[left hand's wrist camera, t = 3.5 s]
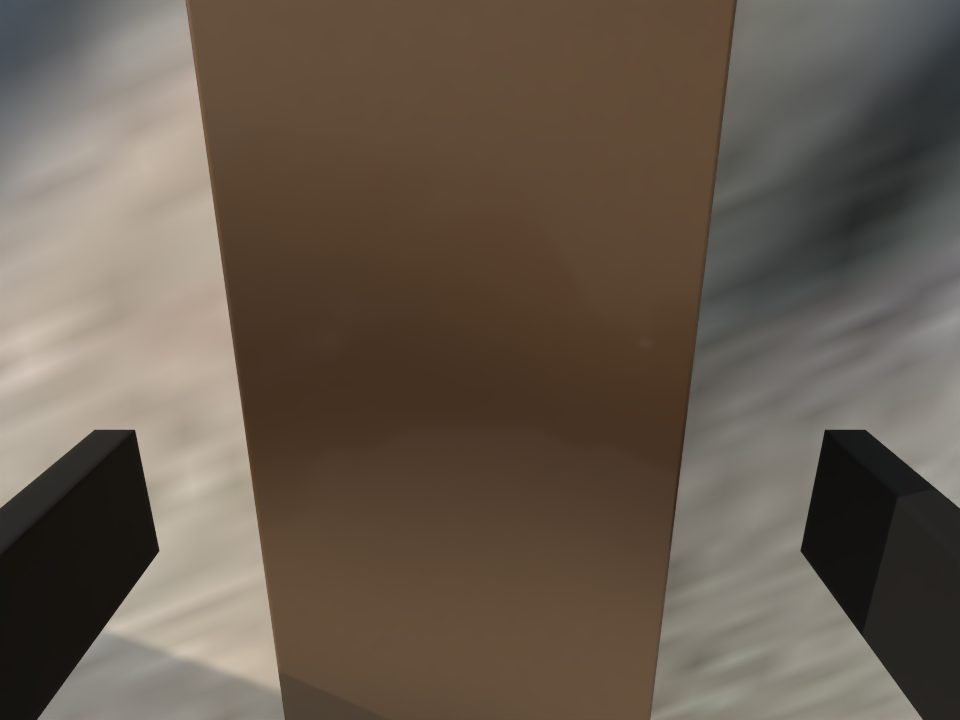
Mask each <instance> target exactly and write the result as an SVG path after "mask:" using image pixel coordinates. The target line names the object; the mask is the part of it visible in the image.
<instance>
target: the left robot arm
mask: <svg viewBox="0 0 960 720" xmlns="http://www.w3.org/2000/svg"><path fill="white" fill-rule="evenodd" d="M158 552H159V547H158V542H157V537H156V532H155V527H154V522H153V517H152V512H151V507H150V502H149V497H148V492H147V487H146V482H145V477H144V472H143V467H142V462H141V457H140V452H139V447H138V442H137V437H136V432H135V430H94V431H93V432H92V433H90V434H89V435H88V436H87V437H86V438H84V439H83V440H82V441H81V442H80V443H78V444H77V445H76V446H75V447H74V448H72V449H71V450H70V451H69V452H67V453H66V454H65V455H64V456H63V457H61V458H60V459H59V460H58V461H57V462H55V463H54V464H53V465H52V466H51V467H49V468H48V469H47V470H46V471H45V472H43V473H42V474H41V475H40V476H39V477H37V478H36V479H35V480H34V481H33V482H31V483H30V484H29V485H28V486H27V487H25V488H24V489H23V490H22V491H21V492H19V493H18V494H17V495H16V496H15V497H13V498H12V499H11V500H10V501H9V502H7V503H6V504H5V505H4V506H3V507H1V508H0V720H37V719H38V718H39V716H40V715H41V713H42V712H43V711H44V709H45V708H46V707H47V705H48V704H49V702H50V701H51V700H52V698H53V697H54V696H55V694H56V693H57V691H58V690H59V689H60V687H61V686H62V685H63V683H64V682H65V680H66V679H67V678H68V676H69V675H70V674H71V672H72V671H73V669H74V668H75V667H76V665H77V664H78V662H79V661H80V660H81V658H82V657H83V656H84V654H85V653H86V651H87V650H88V649H89V647H90V646H91V645H92V643H93V642H94V640H95V639H96V638H97V636H98V635H99V634H100V632H101V631H102V629H103V628H104V627H105V625H106V624H107V623H108V621H109V620H110V618H111V617H112V616H113V614H114V613H115V612H116V610H117V609H118V607H119V606H120V605H121V603H122V602H123V600H124V599H125V598H126V596H127V595H128V594H129V592H130V591H131V589H132V588H133V587H134V585H135V584H136V583H137V581H138V580H139V578H140V577H141V576H142V574H143V573H144V572H145V570H146V569H147V567H148V566H149V565H150V563H151V562H152V561H153V559H154V558H155V556H156V555H157V554H158ZM801 552H802V554H803V555H804V556H805V558H806V559H807V561H808V562H809V563H810V565H811V566H812V567H813V569H814V570H815V572H816V573H817V574H818V576H819V577H820V578H821V580H822V581H823V583H824V584H825V585H826V587H827V588H828V589H829V591H830V592H831V594H832V595H833V596H834V598H835V599H836V600H837V602H838V603H839V605H840V606H841V607H842V609H843V610H844V612H845V613H846V614H847V616H848V617H849V618H850V620H851V621H852V623H853V624H854V625H855V627H856V628H857V629H858V631H859V632H860V634H861V635H862V636H863V638H864V639H865V640H866V642H867V643H868V645H869V646H870V647H871V649H872V650H873V651H874V653H875V654H876V656H877V657H878V658H879V660H880V661H881V662H882V664H883V665H884V667H885V668H886V669H887V671H888V672H889V674H890V675H891V676H892V678H893V679H894V680H895V682H896V683H897V685H898V686H899V687H900V689H901V690H902V691H903V693H904V694H905V696H906V697H907V698H908V700H909V701H910V702H911V704H912V705H913V707H914V708H915V709H916V711H917V712H918V713H919V715H920V716H921V718H922V719H923V720H960V508H959V507H957V506H956V505H955V504H954V503H953V502H951V501H950V500H949V499H948V498H947V497H945V496H944V495H943V494H942V493H941V492H939V491H938V490H937V489H936V488H935V487H933V486H932V485H931V484H930V483H929V482H927V481H926V480H925V479H924V478H923V477H921V476H920V475H919V474H918V473H917V472H915V471H914V470H913V469H912V468H911V467H909V466H908V465H907V464H906V463H905V462H903V461H902V460H901V459H900V458H899V457H897V456H896V455H895V454H894V453H893V452H891V451H890V450H889V449H888V448H886V447H885V446H884V445H883V444H882V443H880V442H879V441H878V440H877V439H876V438H874V437H873V436H872V435H871V434H870V433H868V432H867V431H866V430H825V432H824V437H823V442H822V447H821V452H820V457H819V462H818V467H817V472H816V477H815V482H814V487H813V492H812V497H811V502H810V507H809V512H808V517H807V522H806V527H805V532H804V537H803V542H802V547H801Z"/></svg>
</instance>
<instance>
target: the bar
mask: <svg viewBox="0 0 960 720" xmlns="http://www.w3.org/2000/svg"><path fill="white" fill-rule="evenodd" d="M736 4H737V0H186V6H187V13H188V20H189V28H190V35H191V42H192V49H193V57H194V64H195V71H196V78H197V86H198V93H199V100H200V107H201V115H202V122H203V129H204V136H205V144H206V151H207V158H208V165H209V173H210V180H211V187H212V194H213V201H214V209H215V216H216V223H217V230H218V238H219V245H220V252H221V259H222V267H223V274H224V281H225V288H226V296H227V303H228V310H229V317H230V325H231V332H232V339H233V346H234V353H235V361H236V368H237V375H238V382H239V390H240V397H241V404H242V411H243V419H244V426H245V433H246V440H247V448H248V455H249V462H250V469H251V477H252V484H253V491H254V498H255V505H256V513H257V520H258V527H259V534H260V542H261V549H262V556H263V563H264V571H265V578H266V585H267V592H268V600H269V607H270V614H271V621H272V629H273V636H274V643H275V650H276V657H277V665H278V672H279V679H280V686H281V694H282V701H283V708H284V715H285V720H650V717H651V708H652V700H653V692H654V684H655V675H656V667H657V659H658V650H659V642H660V634H661V626H662V617H663V609H664V601H665V592H666V584H667V576H668V567H669V559H670V551H671V543H672V534H673V526H674V518H675V509H676V501H677V493H678V485H679V476H680V468H681V460H682V451H683V443H684V435H685V427H686V418H687V410H688V402H689V393H690V385H691V377H692V368H693V360H694V352H695V344H696V335H697V327H698V319H699V310H700V302H701V294H702V286H703V277H704V269H705V261H706V252H707V244H708V236H709V227H710V219H711V211H712V203H713V194H714V186H715V178H716V169H717V161H718V153H719V145H720V136H721V128H722V120H723V111H724V103H725V95H726V87H727V78H728V70H729V62H730V53H731V45H732V37H733V28H734V20H735V12H736Z"/></svg>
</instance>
